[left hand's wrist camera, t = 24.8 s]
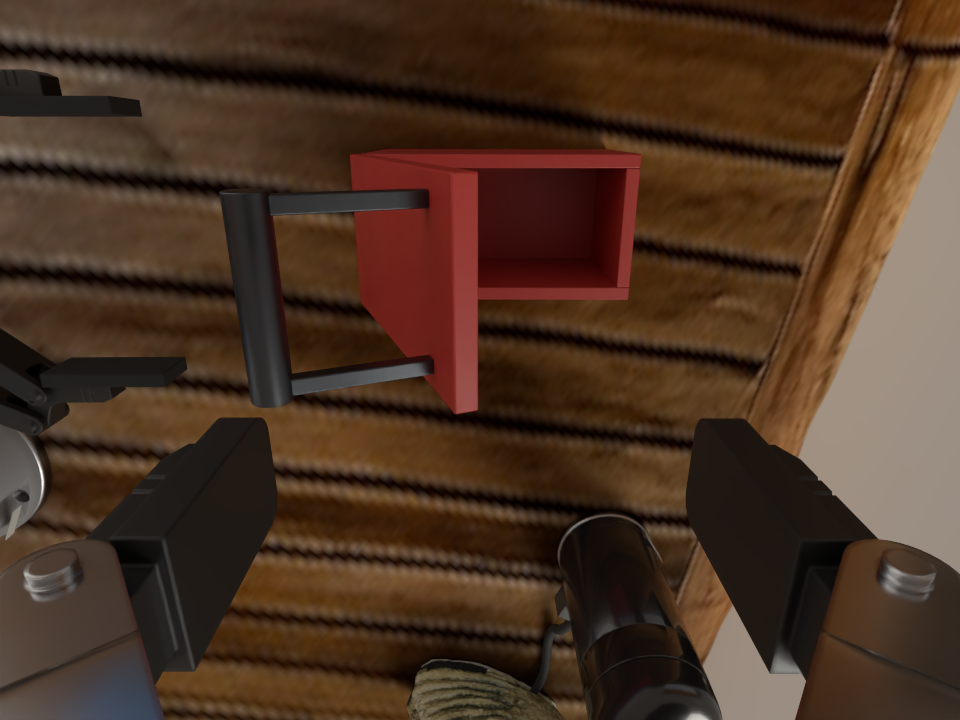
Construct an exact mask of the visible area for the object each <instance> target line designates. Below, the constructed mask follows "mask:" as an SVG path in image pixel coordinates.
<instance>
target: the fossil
mask: <svg viewBox="0 0 960 720" xmlns="http://www.w3.org/2000/svg"><path fill="white" fill-rule="evenodd" d="M530 689H531V687H530V686H528V685H526V684H525V683H523V682H520V681H517V680H516V679H514V678H513V677H511V676H510V675H508V674H505V673H503V672H500V671H498V670H496V669H493V668H491V667H488V666H485V665H482V664H479V663H475V662H468V661H461V660H453V661H452V660H448V659H432V660H430V661H429V662H427V663H426V664H424V665H422V667H421V668H420V670H419V671H418V673H417V675H416V677H415V687H414V690H413V692H412V694H411V695H410V697H409V700H408V703H407V710H408V712H409V714H410V720H566V719H565V718H564V717H563V716H562V715H561V714H560V713H559V712H558V710H557V709H556V708H555V707H556V705H555V704H554V703H553V702H552V701H551V700H550V699H549V698H548V697H546V696H544V695H542V694H541V693H538V694H537V695H535V694H534V693H532V692H530Z"/></svg>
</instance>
